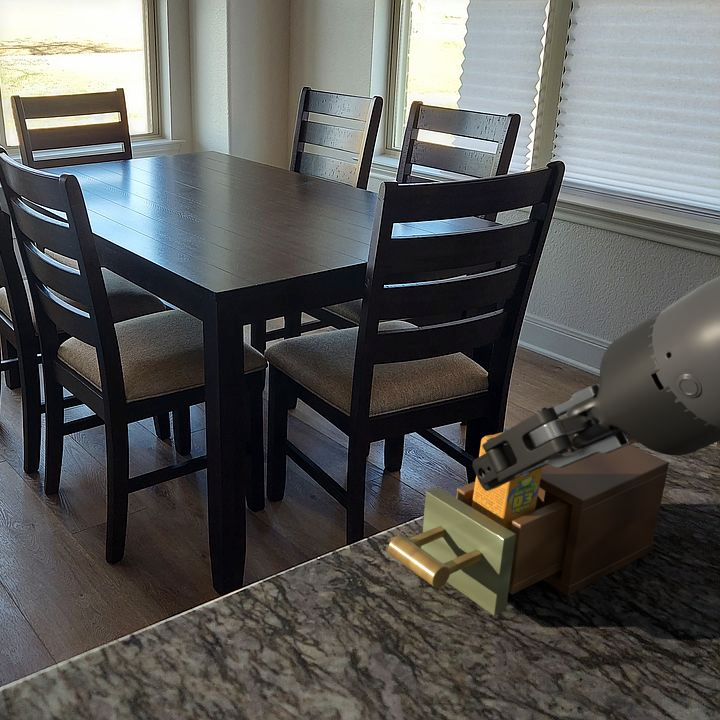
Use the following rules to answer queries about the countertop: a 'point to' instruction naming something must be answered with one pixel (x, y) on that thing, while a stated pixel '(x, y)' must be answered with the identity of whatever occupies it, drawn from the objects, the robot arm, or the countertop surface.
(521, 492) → the supplement box
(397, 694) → the countertop surface
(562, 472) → the cabinet
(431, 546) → the drawer
